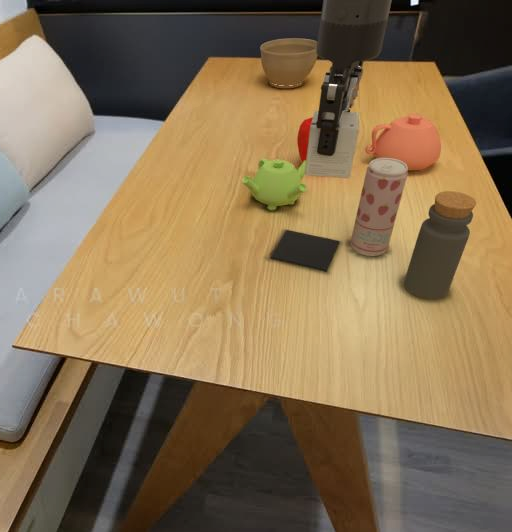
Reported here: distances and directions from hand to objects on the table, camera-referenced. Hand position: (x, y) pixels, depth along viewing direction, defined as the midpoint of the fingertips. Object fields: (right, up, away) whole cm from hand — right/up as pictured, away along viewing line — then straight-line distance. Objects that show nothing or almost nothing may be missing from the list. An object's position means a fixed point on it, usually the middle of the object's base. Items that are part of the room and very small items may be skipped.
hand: (331, 143), depth 73 cm
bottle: (+16, -20, +5) cm, 27 cm away
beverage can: (+12, -14, +15) cm, 24 cm away
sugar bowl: (+30, +5, +37) cm, 48 cm away
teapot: (+1, -5, +29) cm, 29 cm away
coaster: (+2, -14, +15) cm, 21 cm away
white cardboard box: (0, -3, +2) cm, 4 cm away
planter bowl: (+21, +37, +82) cm, 92 cm away
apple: (+13, +4, +39) cm, 41 cm away
